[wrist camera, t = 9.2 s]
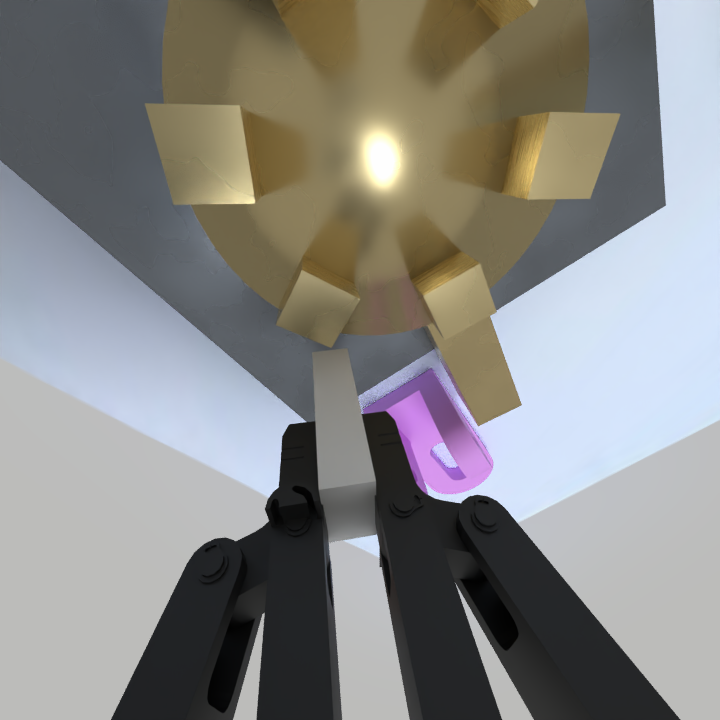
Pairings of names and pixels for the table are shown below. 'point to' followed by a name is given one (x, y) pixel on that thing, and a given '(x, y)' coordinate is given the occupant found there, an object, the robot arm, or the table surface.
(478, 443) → the bracket
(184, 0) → the brass notched disc handle
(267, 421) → the table surface
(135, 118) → the base plate
